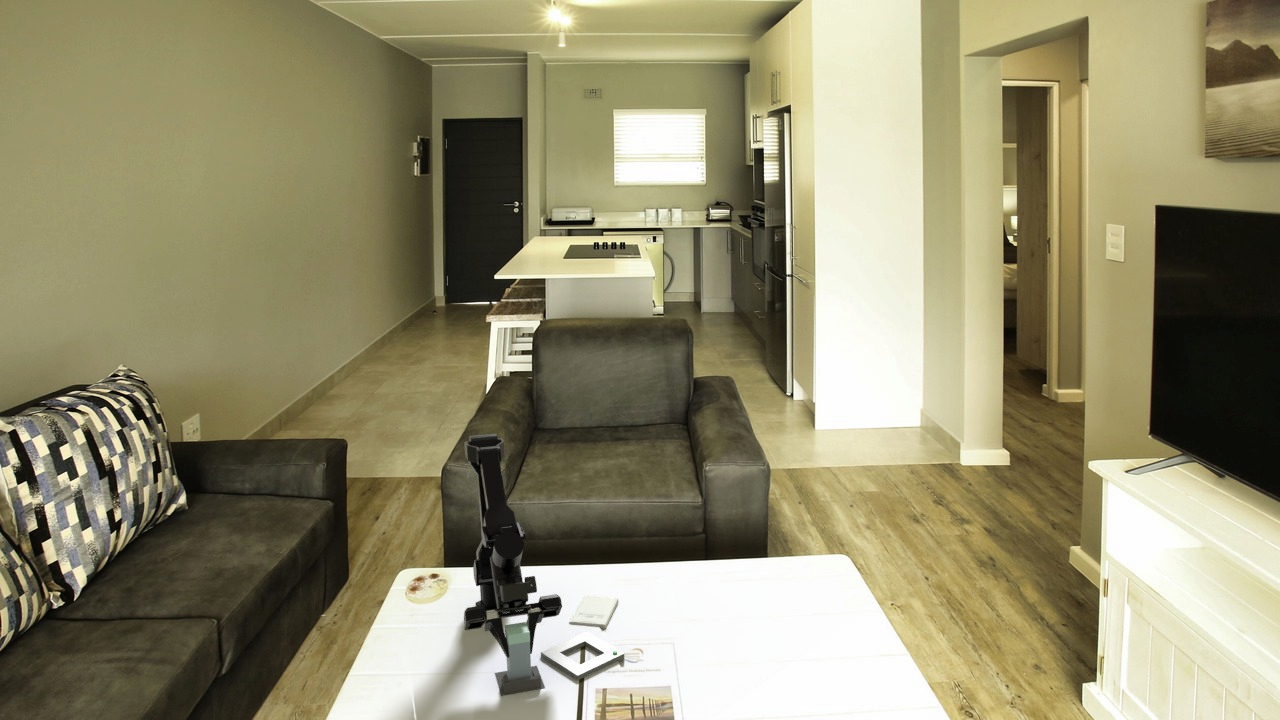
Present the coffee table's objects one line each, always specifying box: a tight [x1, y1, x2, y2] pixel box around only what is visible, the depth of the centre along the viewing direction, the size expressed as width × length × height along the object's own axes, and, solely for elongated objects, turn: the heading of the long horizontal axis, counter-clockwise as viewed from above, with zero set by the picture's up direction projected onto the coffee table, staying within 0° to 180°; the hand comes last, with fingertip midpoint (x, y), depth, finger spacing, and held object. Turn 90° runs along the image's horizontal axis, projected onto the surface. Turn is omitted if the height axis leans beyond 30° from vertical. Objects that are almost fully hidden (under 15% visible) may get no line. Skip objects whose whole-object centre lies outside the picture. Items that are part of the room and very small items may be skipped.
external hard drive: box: [568, 595, 619, 629], centre depth 208 cm, size 2×8×12 cm
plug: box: [504, 621, 532, 681], centre depth 180 cm, size 4×4×11 cm
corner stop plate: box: [494, 665, 546, 697], centre depth 181 cm, size 8×8×2 cm
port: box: [540, 631, 625, 681], centre depth 189 cm, size 12×12×2 cm
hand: (519, 655), depth 178 cm, fingers closed on plug, 4 cm apart
